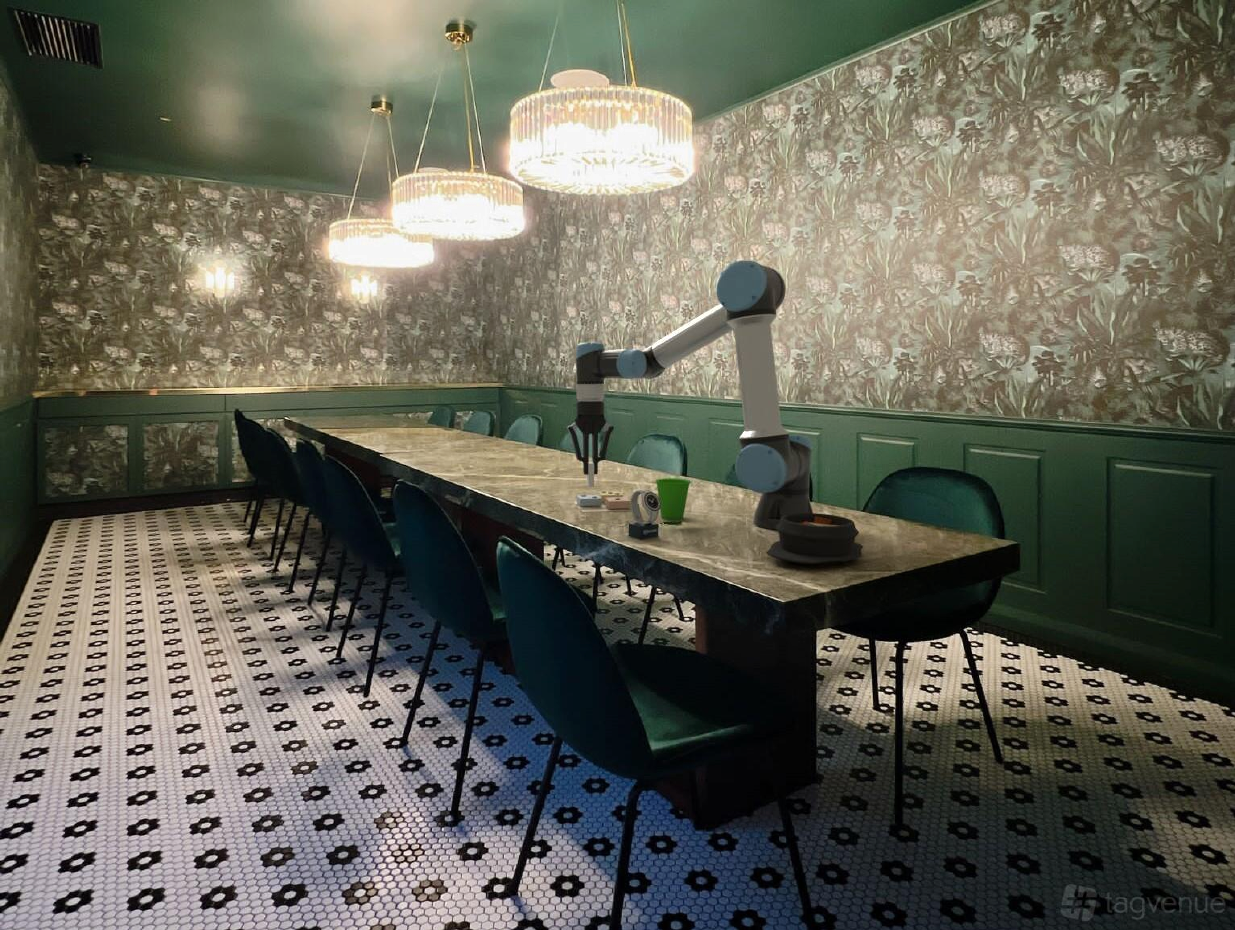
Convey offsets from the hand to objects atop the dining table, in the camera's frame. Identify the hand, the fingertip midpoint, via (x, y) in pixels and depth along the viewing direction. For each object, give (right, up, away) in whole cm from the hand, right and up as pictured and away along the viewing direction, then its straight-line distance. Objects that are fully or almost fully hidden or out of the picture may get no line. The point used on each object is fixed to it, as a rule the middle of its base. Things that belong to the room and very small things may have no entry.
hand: (590, 486), depth 207 cm
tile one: (+7, -5, -2) cm, 10 cm away
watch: (+14, -11, -30) cm, 35 cm away
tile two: (0, -5, +1) cm, 5 cm away
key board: (+3, -7, +2) cm, 8 cm away
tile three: (+5, -4, +7) cm, 10 cm away
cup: (+21, -9, -14) cm, 27 cm away
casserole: (+49, -14, -48) cm, 70 cm away
